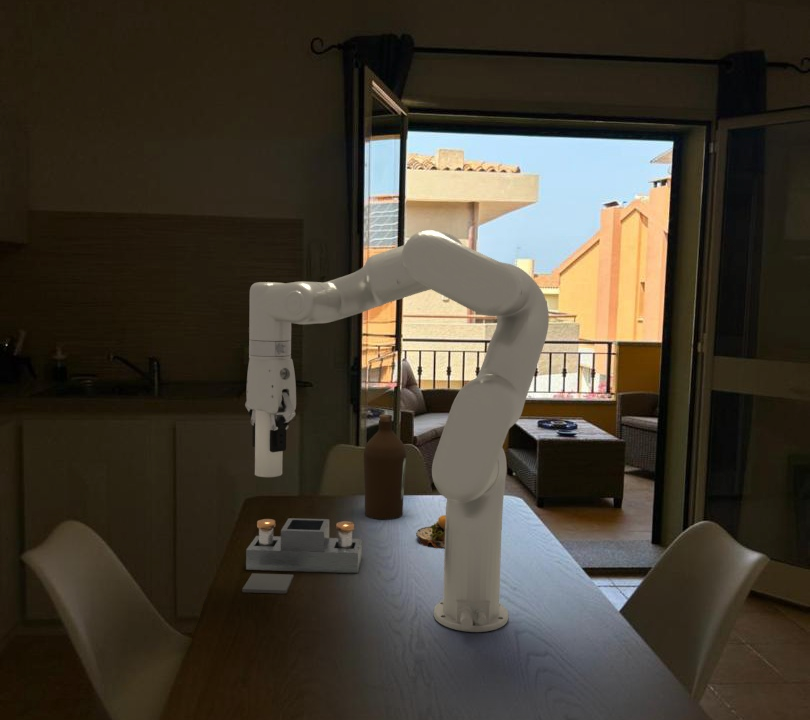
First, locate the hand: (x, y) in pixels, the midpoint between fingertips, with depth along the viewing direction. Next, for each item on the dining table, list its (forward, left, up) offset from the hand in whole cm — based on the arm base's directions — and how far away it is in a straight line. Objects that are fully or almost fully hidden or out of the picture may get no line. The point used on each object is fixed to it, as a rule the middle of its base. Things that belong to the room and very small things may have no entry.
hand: (269, 447), depth 141 cm
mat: (0, 0, -26) cm, 26 cm away
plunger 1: (+12, +3, -26) cm, 28 cm away
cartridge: (0, 0, -5) cm, 5 cm away
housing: (+12, -5, -26) cm, 29 cm away
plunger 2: (+12, -13, -26) cm, 31 cm away
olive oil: (+49, -19, -26) cm, 59 cm away
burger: (+30, -33, -27) cm, 52 cm away
